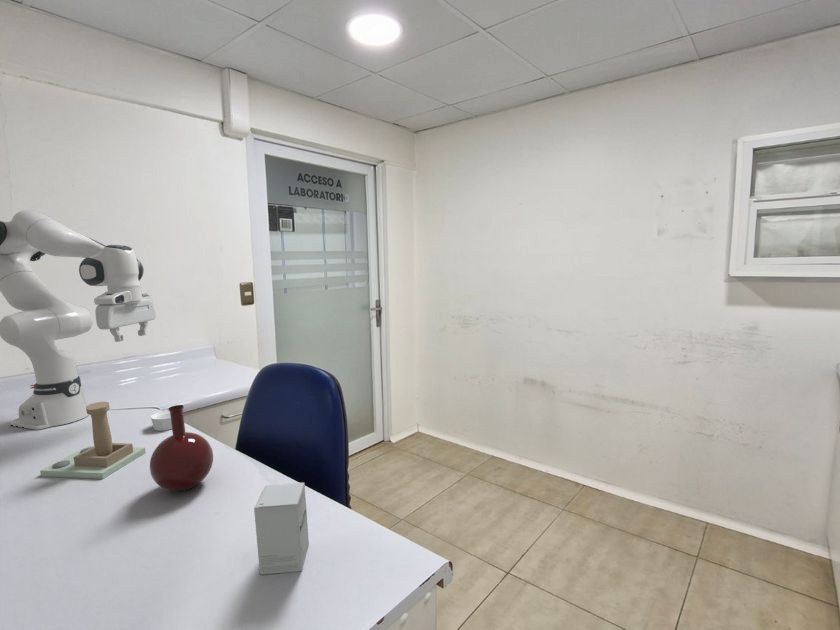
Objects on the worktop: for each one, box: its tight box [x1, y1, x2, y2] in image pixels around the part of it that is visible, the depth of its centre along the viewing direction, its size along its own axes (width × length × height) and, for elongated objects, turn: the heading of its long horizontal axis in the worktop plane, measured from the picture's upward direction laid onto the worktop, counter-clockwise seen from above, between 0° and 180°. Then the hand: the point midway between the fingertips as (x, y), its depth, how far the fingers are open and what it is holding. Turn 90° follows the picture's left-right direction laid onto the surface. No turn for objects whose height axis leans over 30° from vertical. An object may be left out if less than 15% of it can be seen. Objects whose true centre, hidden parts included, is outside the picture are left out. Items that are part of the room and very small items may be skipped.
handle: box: [86, 401, 113, 456], centre depth 113 cm, size 5×6×15 cm
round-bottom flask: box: [149, 404, 214, 492], centre depth 101 cm, size 13×13×20 cm
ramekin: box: [150, 409, 172, 432], centre depth 139 cm, size 9×9×4 cm
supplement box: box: [253, 482, 310, 576], centre depth 76 cm, size 7×7×13 cm
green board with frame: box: [39, 442, 147, 480], centre depth 115 cm, size 18×14×4 cm
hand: (131, 338), depth 139 cm, fingers open, 8 cm apart
